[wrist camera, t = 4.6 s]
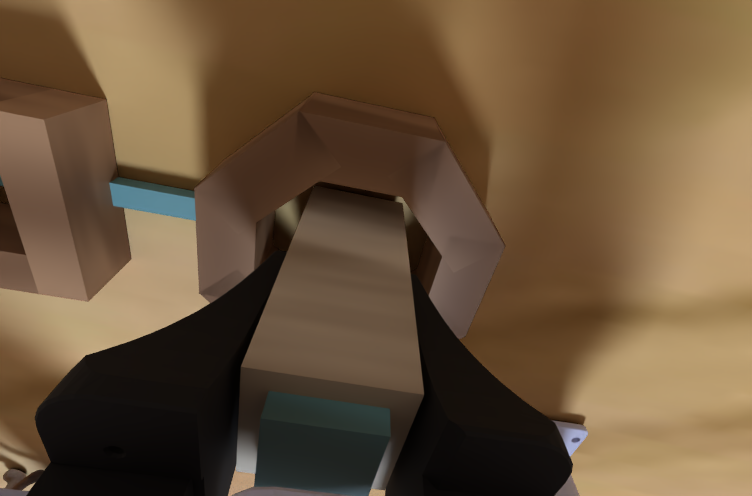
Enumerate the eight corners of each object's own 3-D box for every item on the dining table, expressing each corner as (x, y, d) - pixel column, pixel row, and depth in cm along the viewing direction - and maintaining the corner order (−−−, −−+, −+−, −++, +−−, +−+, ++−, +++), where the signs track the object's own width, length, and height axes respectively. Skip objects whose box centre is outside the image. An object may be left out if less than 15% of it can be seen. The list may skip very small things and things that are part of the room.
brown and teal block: (383, 275, 17) (384, 518, 9) (303, 260, 17) (226, 499, 8) (402, 203, 15) (427, 422, 7) (314, 185, 15) (230, 393, 7)
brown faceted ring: (435, 337, 20) (443, 386, 17) (226, 303, 19) (201, 350, 16) (514, 134, 14) (542, 161, 12) (225, 72, 13) (189, 87, 11)
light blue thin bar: (208, 215, 16) (202, 221, 16) (-76, 163, 15) (-92, 169, 15) (207, 193, 16) (201, 199, 15) (-87, 138, 15) (-103, 143, 14)
